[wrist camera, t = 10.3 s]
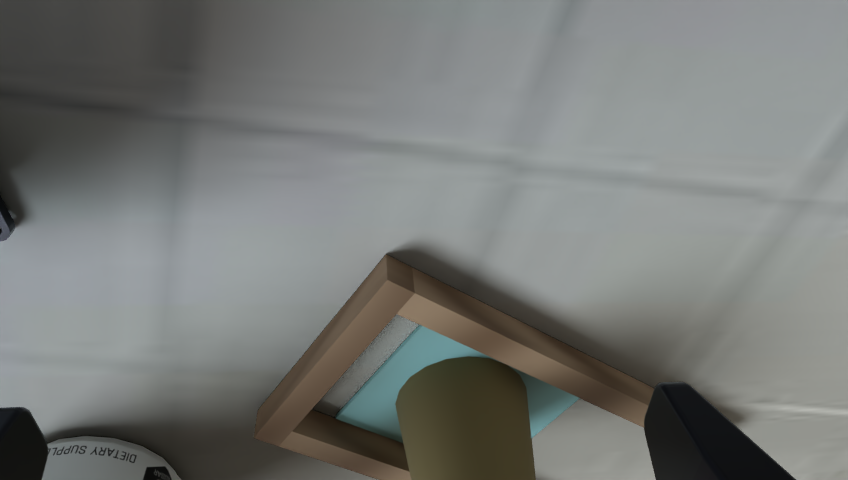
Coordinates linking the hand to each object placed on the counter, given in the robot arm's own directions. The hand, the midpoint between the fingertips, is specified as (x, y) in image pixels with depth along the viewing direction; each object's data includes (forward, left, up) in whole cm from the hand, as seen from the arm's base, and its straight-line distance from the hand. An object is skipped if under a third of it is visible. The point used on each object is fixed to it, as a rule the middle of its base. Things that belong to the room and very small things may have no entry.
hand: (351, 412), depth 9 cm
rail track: (+5, -18, -13) cm, 22 cm away
